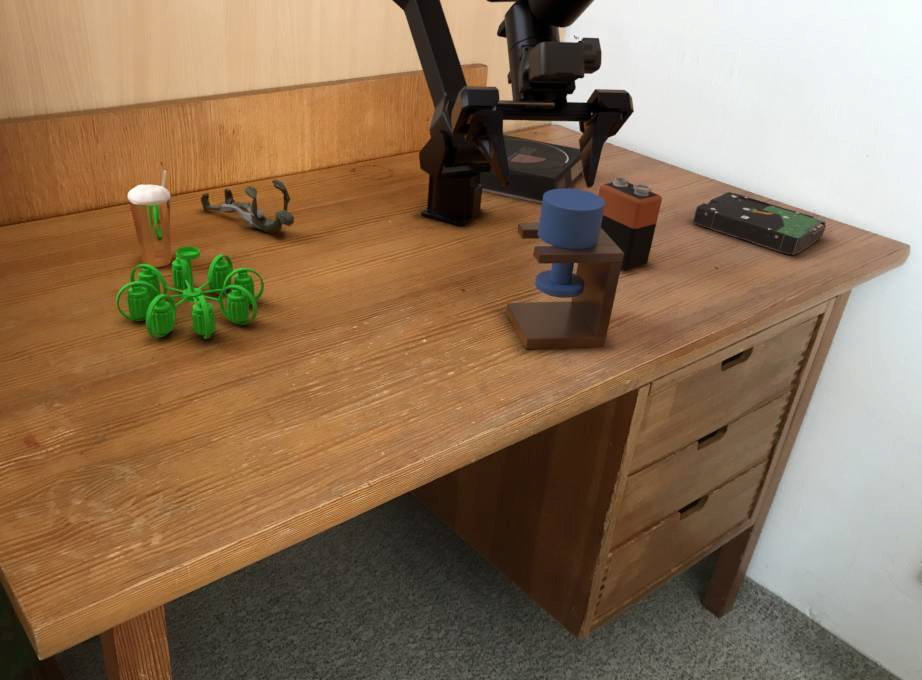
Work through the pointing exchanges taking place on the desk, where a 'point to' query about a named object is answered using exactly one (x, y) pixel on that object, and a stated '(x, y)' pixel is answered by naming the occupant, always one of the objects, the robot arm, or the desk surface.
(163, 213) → the milkshake
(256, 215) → the zombie figurine
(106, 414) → the desk surface
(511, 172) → the portable cd player
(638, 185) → the battery
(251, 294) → the chandelier
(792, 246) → the disk drive
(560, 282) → the peg
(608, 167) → the desk surface
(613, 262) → the brown slotted stand
